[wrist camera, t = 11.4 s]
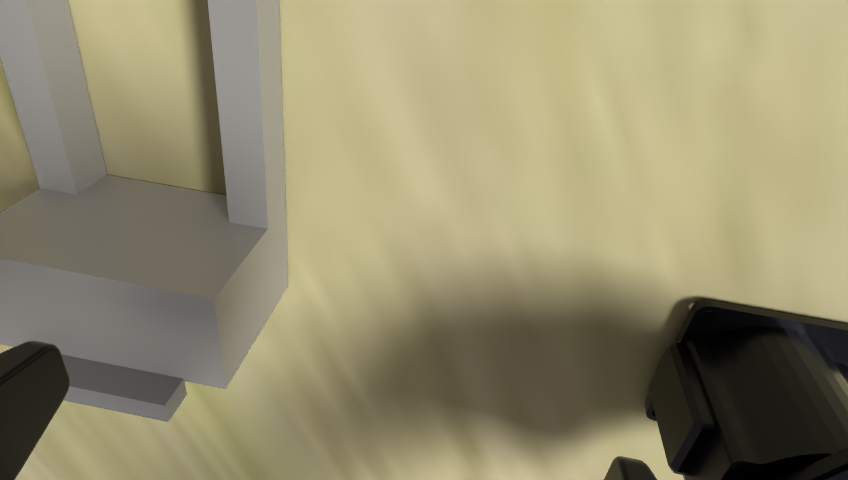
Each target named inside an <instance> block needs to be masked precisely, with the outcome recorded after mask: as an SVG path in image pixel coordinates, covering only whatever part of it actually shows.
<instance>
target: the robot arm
mask: <svg viewBox="0 0 848 480" xmlns="http://www.w3.org/2000/svg"><path fill="white" fill-rule="evenodd" d="M706 311H711V312H710V313H709V314H707V315H701V314H702V313H704V312H706ZM69 385H70V379H69V375H68V372H67V369H66V366H65V364H64V361H63V358H62V355H61V352H60V350H59V348H58V347H57V346H55V345H53V344H48V343H43V342H38V341H28V342H25V343H22V344H20V345H18V346H16V347H14V348H11V349H9V350H7V351H5V352H2V353H0V480H15V478H16V477H17V475H18V473H19V472H20V470H21V469H22V467H23V466H24V464H25V462H26V461H27V459H28V457H29V456H30V454H31V452H32V451H33V449H34V448H35V446H36V444H37V443H38V441H39V439H40V438H41V436H42V434H43V433H44V431H45V429H46V428H47V426H48V424H49V423H50V421H51V419H52V418H53V416H54V414H55V413H56V411H57V409H58V408H59V406H60V404H61V403H62V401H63V399H64V398H65V396H66V394H67V392H68V389H69ZM649 392H650V394H649V396H648V398H647V400H646V402H645V406H644V408H645V412H646V415H647V417H648V418H649V419H651V420H654V421H657V423H658V427H659V431H660V435H661V439H662V442H663V446H664V450H665V454H666V458H667V462H668V465H669V467H670V468H671V470H672V471H673V472H674V473H676V474H681V475H683V477H684V480H848V324H843V323H838V322H832V321H826V320H821V319H815V318H809V317H804V316H798V315H792V314H787V313H781V312H775V311H770V310H764V309H759V308H753V307H747V306H742V305H736V304H730V303H725V302H719V301H713V300H701V301H698V302H697V303H695V304H694V305H693V306H692V308H691V310H690V312H689V314H688V316H687V318H686V320H685V322H684V324H683V326H682V328H681V330H680V332H679V334H678V336H677V338H676V341H675V342H674V343H672V344H671V345H669V346H668V347H667V350H666V352H665V354H664V356H663V358H662V360H661V362H660V364H659V366H658V368H657V370H656V372H655V375H654V377H653V379H652V381H651V383H650V385H649ZM604 480H657V479H656V477H655V476H654V474H653V473H652V471H651V470H650V468H649V467H648V466H647V465H646V464H645V463H644V462H643V461H640V460H637V459H631V458H626V457H621V456H618V457H616V458H615V459H614V460H613V462H612V464H611V466H610V468H609V470H608V472H607V474H606V476H605V479H604Z"/></svg>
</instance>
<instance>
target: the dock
mask: <svg viewBox="0 0 848 480" xmlns="http://www.w3.org/2000/svg"><path fill="white" fill-rule="evenodd" d="M208 10H209V20H210V31H211V41H212V51H213V62H214V72H215V82H216V93H217V103H218V113H219V123H220V134H221V144H222V154H223V165H224V175H225V185H226V195H220V194H214V193H209V192H203V191H197V190H191V189H186V188H180V187H174V186H169V185H163V184H157V183H151V182H146V181H140V180H134V179H129V178H123V177H117V176H111V175H107V171H106V167H105V163H104V158H103V154H102V149H101V145H100V140H99V136H98V132H97V127H96V123H95V118H94V114H93V109H92V105H91V100H90V96H89V92H88V87H87V83H86V78H85V74H84V69H83V65H82V61H81V56H80V52H79V47H78V43H77V38H76V34H75V30H74V25H73V21H72V16H71V12H70V7H69V3H68V0H0V58H1V62H2V65H3V68H4V72H5V75H6V78H7V82H8V85H9V88H10V91H11V95H12V98H13V101H14V105H15V108H16V111H17V114H18V118H19V121H20V124H21V128H22V131H23V134H24V137H25V141H26V144H27V147H28V151H29V154H30V157H31V160H32V164H33V167H34V170H35V174H36V177H37V180H38V184H39V187H40V189H38V190H36V191H35V192H33V193H31V194H30V195H28V196H26V197H25V198H23V199H21V200H20V201H18V202H16V203H15V204H13V205H11V206H10V207H8V208H6V209H5V210H3V211H1V212H0V344H3V345H8V346H13V347H16V346H18V345H20V344H22V343H25V342H28V341H38V342H43V343H48V344H53V345H55V346H57V347H58V348H59V350H60V352H61V355H62V358H63V361H64V364H65V366H66V369H67V372H68V375H69V379H70V385H69V389H68V392H67V394H66V396H65V398H64V399H63V400H65V401H70V402H74V403H79V404H84V405H89V406H94V407H99V408H104V409H108V410H113V411H118V412H123V413H128V414H133V415H138V416H143V417H147V418H152V419H157V420H162V421H167V422H168V421H169V420H170V418H171V417H172V415H173V414H174V413H175V411H176V410H177V408H178V407H179V405H180V404H181V402H182V401H183V399H184V398H185V396H186V395H187V394H186V388H185V383H184V381H188V382H193V383H198V384H203V385H208V386H213V387H218V388H223V389H226V388H227V386H228V384H229V383H230V381H231V379H232V378H233V376H234V374H235V373H236V371H237V369H238V368H239V366H240V364H241V363H242V361H243V360H244V358H245V356H246V355H247V353H248V351H249V350H250V348H251V346H252V345H253V343H254V341H255V340H256V338H257V336H258V335H259V333H260V331H261V330H262V328H263V326H264V325H265V323H266V321H267V320H268V318H269V316H270V315H271V313H272V312H273V310H274V308H275V307H276V305H277V303H278V302H279V300H280V298H281V297H282V295H283V293H284V292H285V290H286V288H287V287H288V265H287V232H286V200H285V168H284V136H283V103H282V71H281V39H280V6H279V0H208Z"/></svg>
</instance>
